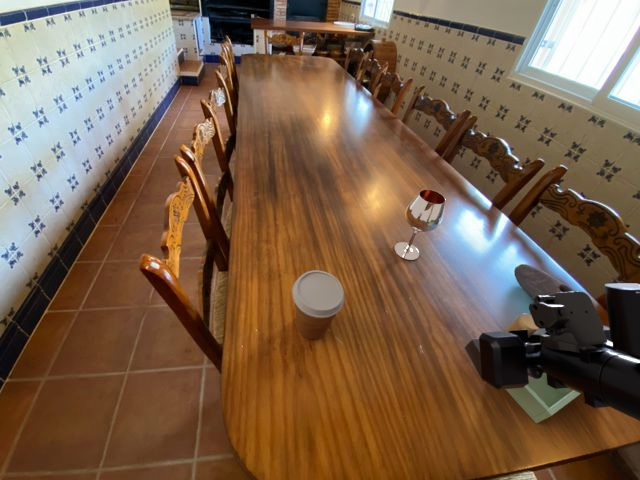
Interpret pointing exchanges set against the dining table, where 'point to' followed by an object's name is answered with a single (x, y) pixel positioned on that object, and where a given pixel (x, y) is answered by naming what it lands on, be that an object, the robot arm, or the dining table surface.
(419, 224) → the wineglass
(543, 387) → the divided tray
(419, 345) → the dining table surface
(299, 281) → the disposable coffee cup
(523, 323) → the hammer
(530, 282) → the perforated stone tool
